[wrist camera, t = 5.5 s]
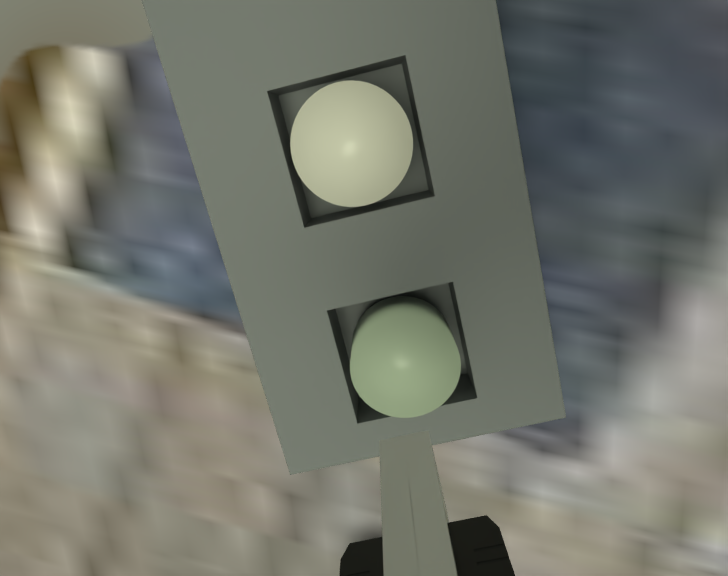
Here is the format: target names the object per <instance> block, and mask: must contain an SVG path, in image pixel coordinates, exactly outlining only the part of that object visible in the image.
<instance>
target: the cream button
mask: <svg viewBox="0 0 728 576" xmlns="http://www.w3.org/2000/svg"><path fill="white" fill-rule="evenodd" d="M290 147H291V155H292V160H293V163H294V166H295V169H296V171H297V173H298V175H299V177H300V178H301V180H302V181H303V183H304V184H305V185H306V186H307V187H308V188H309V189H310V190H311V191H312V192H313V193H314V194H315V195H317V196H318V197H320V198H321V199H323V200H325V201H327V202H329V203H332V204H335V205H339V206H345V207H359V206H365V205H369V204H372V203H375V202H377V201H379V200H381V199H383V198H384V197H386V196H387V195H389V194H390V193H391V192H392V191H393V190H394V189H395V188H396V187H397V186H398V185H399V184H400V182H401V181H402V179H403V178H404V176H405V174H406V172H407V170H408V168H409V165H410V162H411V158H412V152H413V136H412V130H411V126H410V123H409V120H408V118H407V116H406V114H405V112H404V110H403V109H402V107H401V106H400V104H399V103H398V102H397V101H396V100H395V99H394V98H393V97H392V96H391V95H390V94H389V93H387V92H386V91H385V90H383V89H381V88H379V87H378V86H375V85H373V84H370V83H367V82H362V81H354V80H350V81H341V82H336V83H333V84H330V85H327V86H325V87H323V88H321V89H320V90H318V91H317V92H315V93H314V94H313V95H312V96H311V97H310V98H308V100H307V101H306V102H305V103H304V104H303V106H302V107H301V109H300V110H299V112H298V114H297V116H296V118H295V120H294V123H293V127H292V131H291V140H290Z"/></svg>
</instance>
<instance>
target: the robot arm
mask: <svg viewBox="0 0 728 576" xmlns="http://www.w3.org/2000/svg"><path fill="white" fill-rule="evenodd" d="M379 444H380V476H381V507H382V537H380V538H375V539H370V540H365V541H360V542H355V543H350V544H349V546H348V547H347V549H346V551H345V553H344V555H343V556H342V558H341V563H340V576H515V574H514V571H513V568H512V565H511V562H510V560H509V556H508V553H507V550H506V547H505V544H504V541H503V538H502V535H501V531H500V528H499V527H498V526H497V525H496V524H495V523H494V522H493V521H492V520H491V519H490V518H489V517H488V516H487V515H486V516H480V517H475V518H470V519H465V520H460V521H455V522H450V523H449V520H448V515H447V510H446V505H445V501H444V497H443V492H442V488H441V484H440V479H439V475H438V471H437V466H436V462H435V458H434V453H433V449H432V445H431V440H430V436H429V432H428V431H423V432H418V433H413V434H408V435H404V436H399V437H394V438H389V439H384V440H379Z"/></svg>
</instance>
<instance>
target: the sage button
mask: <svg viewBox="0 0 728 576" xmlns="http://www.w3.org/2000/svg"><path fill="white" fill-rule="evenodd" d="M460 372H461V360H460V354H459V351H458V348H457V345H456V343H455V340H454V338H453V335H452V333H451V330H450V328H449V325H448V323H447V321H446V319H445V318H444V316H443V315H442V314H441V313H440V311H438V310H437V309H436V308H435V307H434V306H432V305H431V304H430V303H428V302H426V301H424V300H421V299H418V298H415V297H409V296H396V297H390V298H387V299H384V300H382V301H379V302H377V303H376V304H374V305H373V306H371V307H370V308H369V309H368V310H367V311H366V312H365V313H364V314H363V315H362V316H361V318H360V319H359V321H358V323H357V324H356V327H355V329H354V333H353V339H352V349H351V359H350V374H351V379H352V382H353V385H354V387H355V389H356V391H357V393H358V394H359V396H360V397H361V398H362V399H363V401H364V402H365V403H366V404H368V405H369V406H370V407H371V408H373V409H375V410H376V411H378V412H380V413H382V414H385V415H388V416H392V417H398V418H411V417H418V416H421V415H425V414H427V413H429V412H432V411H433V410H435V409H437V408H438V407H440V406H441V405H442V404H443V403H444V402H445V401H446V400H447V399H448V398H449V397H450V396H451V395H452V393H453V391H454V390H455V388H456V386H457V383H458V381H459V377H460Z"/></svg>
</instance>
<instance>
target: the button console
mask: <svg viewBox="0 0 728 576" xmlns="http://www.w3.org/2000/svg"><path fill="white" fill-rule="evenodd" d="M142 3H143V6H144V9H145V12H146V16H147V19H148V22H149V25H150V28H151V32H152V35H153V38H154V41H155V44H156V48H157V51H158V54H159V57H160V60H161V64H162V67H163V70H164V73H165V76H166V80H167V83H168V86H169V89H170V92H171V95H172V99H173V102H174V105H175V108H176V111H177V115H178V118H179V121H180V124H181V127H182V131H183V134H184V137H185V140H186V143H187V147H188V150H189V153H190V156H191V159H192V163H193V166H194V169H195V172H196V175H197V178H198V182H199V185H200V188H201V191H202V194H203V198H204V201H205V204H206V207H207V210H208V214H209V217H210V220H211V223H212V226H213V230H214V233H215V236H216V239H217V242H218V246H219V249H220V252H221V255H222V258H223V261H224V265H225V268H226V271H227V274H228V277H229V281H230V284H231V287H232V290H233V293H234V297H235V300H236V303H237V306H238V309H239V313H240V316H241V319H242V322H243V325H244V329H245V332H246V335H247V338H248V341H249V344H250V348H251V351H252V354H253V357H254V360H255V364H256V367H257V370H258V373H259V376H260V380H261V383H262V386H263V389H264V392H265V396H266V399H267V402H268V405H269V408H270V412H271V415H272V418H273V421H274V424H275V427H276V431H277V434H278V437H279V440H280V443H281V447H282V450H283V453H284V456H285V459H286V463H287V466H288V469H289V472H290V475H292V474H296V473H301V472H306V471H311V470H316V469H320V468H325V467H330V466H335V465H340V464H344V463H349V462H354V461H359V460H364V459H369V458H373V457H378V456H380V444H379V440H384V439H389V438H394V437H399V436H404V435H408V434H413V433H418V432H423V431H428V432H429V436H430V440H431V445H436V444H441V443H445V442H450V441H455V440H460V439H465V438H469V437H474V436H479V435H484V434H489V433H493V432H498V431H503V430H508V429H513V428H517V427H522V426H527V425H532V424H537V423H541V422H546V421H551V420H556V419H561V418H565V417H566V414H565V409H564V403H563V397H562V391H561V385H560V379H559V373H558V367H557V361H556V355H555V349H554V343H553V337H552V331H551V325H550V319H549V314H548V308H547V302H546V296H545V290H544V284H543V278H542V272H541V266H540V260H539V254H538V248H537V242H536V236H535V230H534V224H533V218H532V213H531V207H530V201H529V195H528V189H527V183H526V177H525V171H524V165H523V159H522V153H521V147H520V141H519V135H518V129H517V123H516V118H515V112H514V106H513V100H512V94H511V88H510V82H509V76H508V70H507V64H506V58H505V52H504V46H503V40H502V34H501V28H500V23H499V17H498V11H497V5H496V0H142ZM350 80H354V81H362V82H367V83H370V84H373V85H375V86H378V87H379V88H381V89H383V90H385V91H386V92H387V93H389V94H390V95H391V96H392V97H393V98H394V99H395V100H396V101H397V102H398V103H399V104H400V106H401V107H402V109H403V110H404V112H405V114H406V116H407V118H408V120H409V123H410V126H411V130H412V136H413V152H412V158H411V162H410V165H409V168H408V170H407V172H406V174H405V176H404V178H403V179H402V181H401V182H400V184H399V185H398V186H397V187H396V188H395V189H394V190H393V191H392V192H391V193H390V194H389V195H387V196H386V197H384V198H383V199H381V200H379V201H377V202H375V203H372V204H369V205H365V206H359V207H345V206H339V205H335V204H332V203H329V202H327V201H325V200H323V199H321V198H320V197H318V196H317V195H315V194H314V193H313V192H312V191H311V190H310V189H309V188H308V187H307V186H306V185H305V184H304V183H303V181H302V180H301V178H300V177H299V175H298V173H297V171H296V169H295V166H294V163H293V160H292V155H291V147H290V140H291V131H292V127H293V123H294V120H295V118H296V116H297V114H298V112H299V110H300V109H301V107H302V106H303V104H304V103H305V102H306V101H307V100H308V98H310V97H311V96H312V95H313V94H314V93H315V92H317V91H318V90H320V89H321V88H323V87H325V86H327V85H330V84H333V83H336V82H341V81H350ZM396 296H409V297H415V298H418V299H421V300H424V301H426V302H428V303H430V304H431V305H432V306H434V307H435V308H436V309H437V310H438V311H440V313H441V314H442V315H443V316H444V318H445V319H446V321H447V323H448V325H449V328H450V330H451V333H452V335H453V338H454V340H455V343H456V345H457V348H458V351H459V354H460V360H461V372H460V377H459V381H458V383H457V386H456V388H455V390H454V391H453V393H452V395H451V396H450V397H449V398H448V399H447V400H446V401H445V402H444V403H443V404H442V405H441V406H440V407H438V408H437V409H435V410H433V411H432V412H429V413H427V414H425V415H421V416H418V417H411V418H398V417H392V416H388V415H385V414H382V413H380V412H378V411H376V410H375V409H373V408H371V407H370V406H369V405H368V404H366V403H365V402H364V401H363V399H362V398H361V397H360V396H359V394H358V393H357V391H356V389H355V387H354V385H353V382H352V379H351V374H350V359H351V349H352V339H353V333H354V329H355V327H356V324H357V323H358V321H359V319H360V318H361V316H362V315H363V314H364V313H365V312H366V311H367V310H368V309H369V308H370V307H371V306H373V305H374V304H376V303H377V302H379V301H382V300H384V299H387V298H390V297H396Z"/></svg>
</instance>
